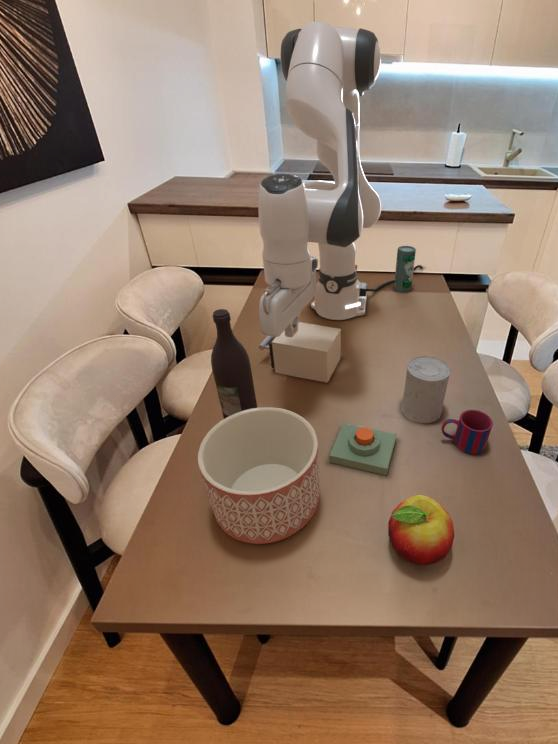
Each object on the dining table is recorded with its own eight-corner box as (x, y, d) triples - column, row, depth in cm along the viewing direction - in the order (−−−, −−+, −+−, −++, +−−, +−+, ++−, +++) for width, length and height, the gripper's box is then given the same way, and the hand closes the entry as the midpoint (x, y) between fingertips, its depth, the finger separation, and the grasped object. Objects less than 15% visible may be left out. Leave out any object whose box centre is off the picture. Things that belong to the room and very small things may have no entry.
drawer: (256, 365, 107) (253, 340, 102) (273, 345, 115) (270, 321, 110) (319, 377, 103) (319, 352, 98) (332, 355, 111) (331, 331, 106)
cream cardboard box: (275, 372, 106) (271, 342, 100) (291, 350, 115) (289, 320, 109) (327, 382, 103) (327, 351, 97) (340, 358, 112) (340, 328, 106)
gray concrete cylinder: (417, 391, 101) (424, 351, 93) (449, 410, 96) (459, 368, 88) (393, 408, 95) (398, 367, 88) (425, 429, 90) (433, 386, 83)
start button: (358, 431, 84) (358, 425, 83) (374, 435, 83) (375, 429, 82) (353, 443, 81) (353, 437, 80) (370, 447, 81) (371, 441, 79)
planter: (330, 533, 69) (330, 478, 60) (216, 562, 65) (196, 507, 56) (308, 453, 84) (305, 399, 75) (213, 472, 79) (197, 417, 70)
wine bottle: (226, 429, 89) (196, 307, 70) (257, 421, 91) (237, 300, 73) (231, 451, 84) (201, 325, 65) (265, 442, 86) (245, 318, 67)
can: (408, 293, 146) (413, 252, 137) (392, 290, 148) (396, 250, 138) (412, 287, 150) (417, 247, 141) (396, 284, 152) (400, 244, 143)
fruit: (457, 573, 64) (469, 539, 58) (390, 578, 63) (396, 544, 57) (440, 515, 73) (449, 480, 66) (381, 518, 72) (385, 483, 66)
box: (343, 429, 90) (343, 416, 87) (395, 441, 87) (397, 427, 85) (329, 462, 82) (329, 449, 79) (386, 475, 80) (388, 462, 77)
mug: (486, 456, 84) (494, 433, 80) (438, 449, 86) (443, 426, 81) (484, 434, 89) (491, 412, 85) (439, 427, 91) (444, 405, 87)
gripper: (279, 295, 68) (285, 362, 76) (320, 256, 83) (321, 315, 92) (246, 289, 69) (255, 356, 77) (292, 252, 85) (296, 311, 93)
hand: (291, 334), depth 85 cm, fingers closed
